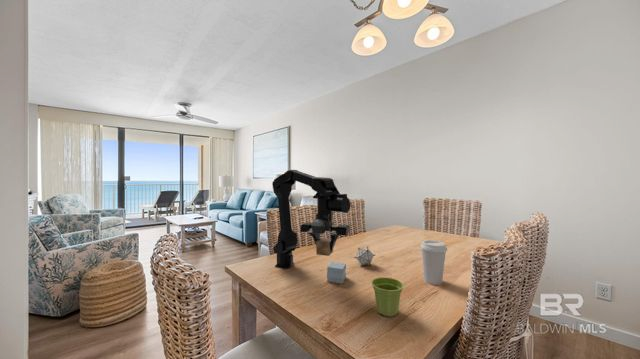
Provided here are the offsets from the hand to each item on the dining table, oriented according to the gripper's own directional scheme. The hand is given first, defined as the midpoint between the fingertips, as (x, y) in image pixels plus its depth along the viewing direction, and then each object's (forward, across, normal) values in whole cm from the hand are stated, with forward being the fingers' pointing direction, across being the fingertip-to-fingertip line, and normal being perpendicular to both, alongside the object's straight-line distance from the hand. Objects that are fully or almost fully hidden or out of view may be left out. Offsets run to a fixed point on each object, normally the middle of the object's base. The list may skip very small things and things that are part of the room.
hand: (325, 250), depth 98 cm
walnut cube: (+1, 0, 0) cm, 1 cm away
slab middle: (+10, +4, +3) cm, 11 cm away
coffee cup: (+12, +39, +15) cm, 44 cm away
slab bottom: (+12, +4, +3) cm, 13 cm away
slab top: (+8, +4, +3) cm, 10 cm away
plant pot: (+12, +25, -13) cm, 31 cm away
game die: (+12, +11, +22) cm, 28 cm away
